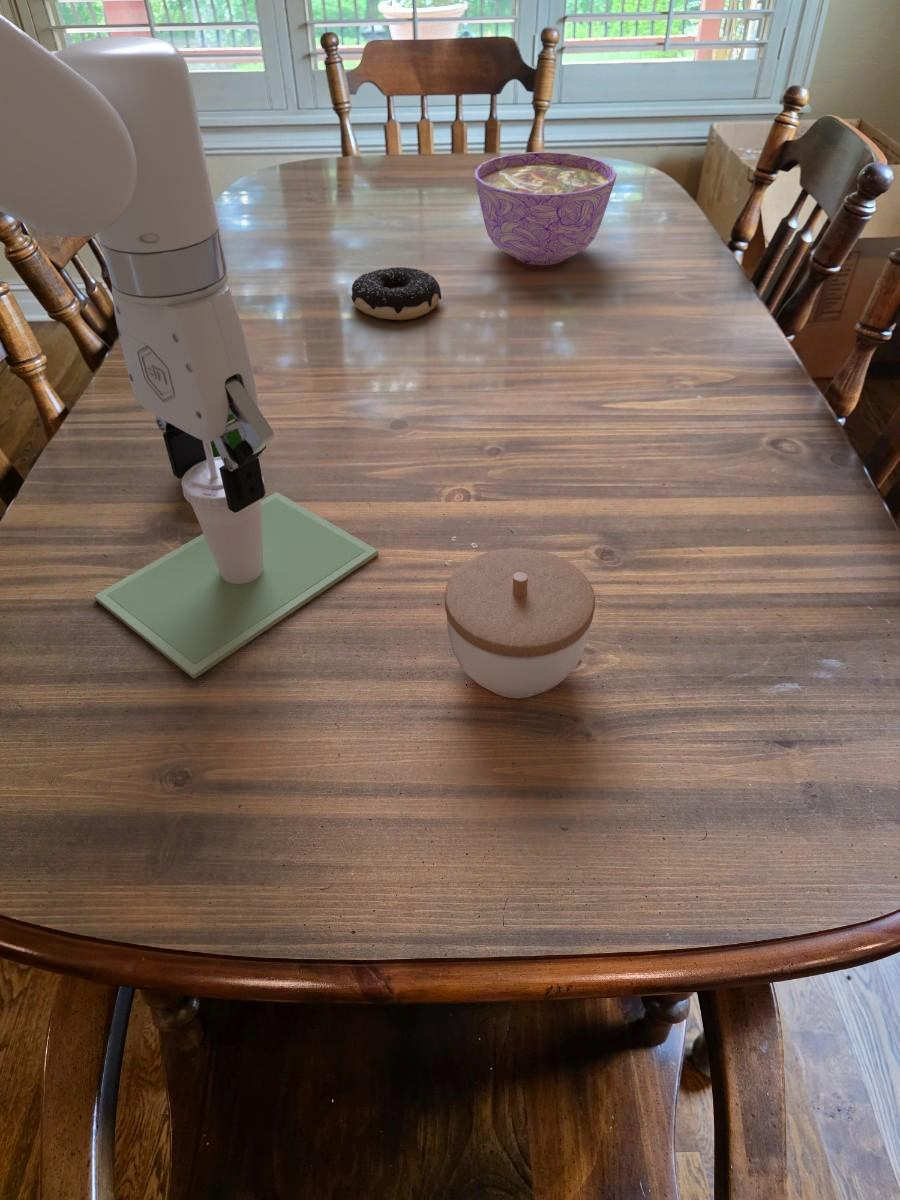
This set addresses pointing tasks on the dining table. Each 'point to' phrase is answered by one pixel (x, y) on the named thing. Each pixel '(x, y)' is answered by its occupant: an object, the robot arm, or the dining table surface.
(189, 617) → the placemat
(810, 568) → the dining table surface
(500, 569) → the trinket box
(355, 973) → the dining table surface
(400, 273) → the donut
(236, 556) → the smoothie
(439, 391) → the dining table surface
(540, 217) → the bowl of food
